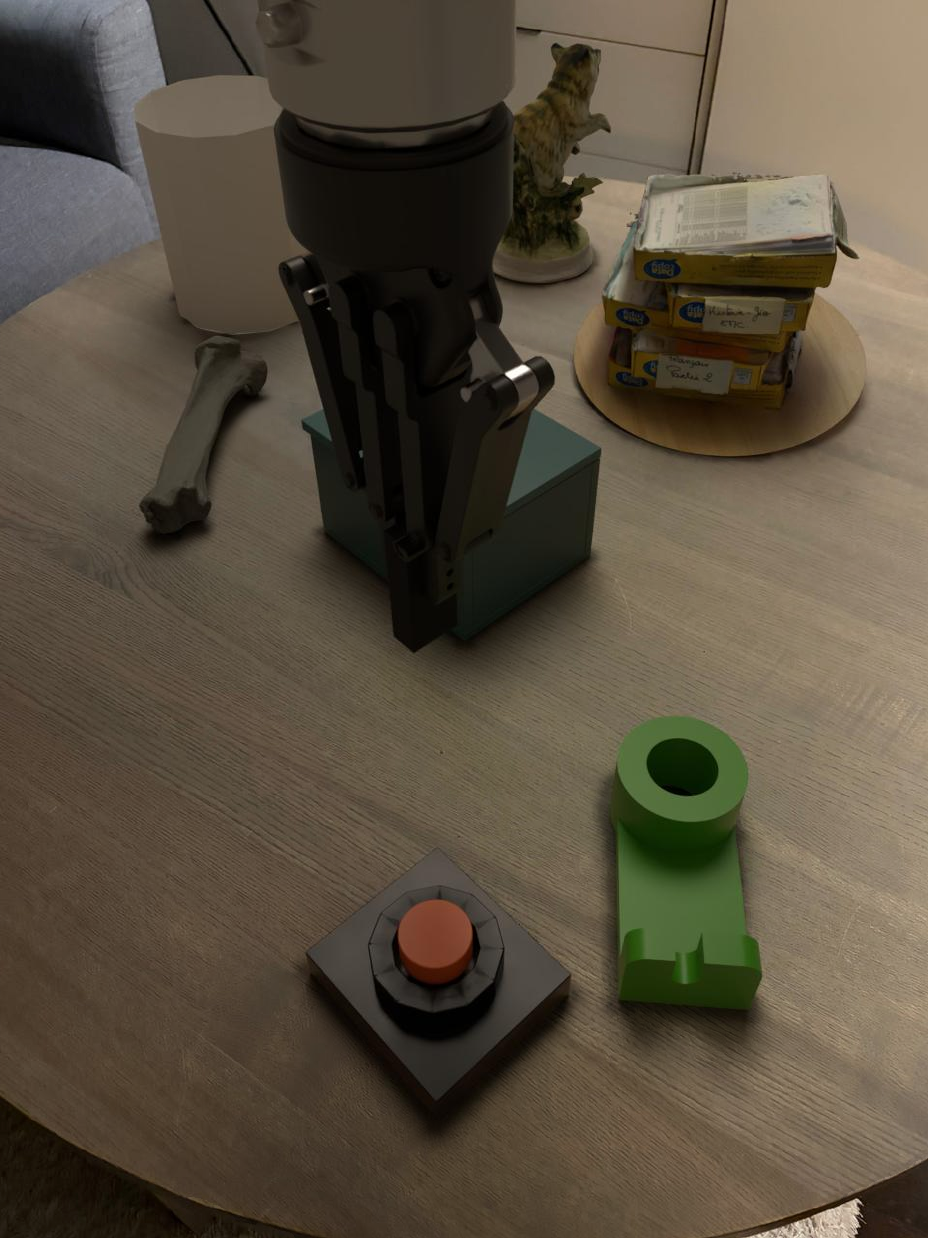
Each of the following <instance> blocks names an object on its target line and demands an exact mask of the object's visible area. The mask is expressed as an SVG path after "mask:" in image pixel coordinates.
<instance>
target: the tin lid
mask: <svg viewBox="0 0 928 1238" xmlns="http://www.w3.org/2000/svg"><path fill="white" fill-rule="evenodd" d="M301 427H302V430H303V431H304V432H306V433H307V434H308V435H311V436H313V437H314V438H316V439H317V440H318V441H320V442H321V443H323V444H324V445H325V446H327V447H328V448H330V449H331V450H332V451H334V452H335V450H334V447H333V443H332V439H331V436H330V432H329V428H328V425H327V421H326V417H325V413H324V410H323V408H322V409H321V410H319V411H316V412H315V413H312V414H311V415H309V416H306V417H305V418H302V419H301ZM311 436H310V437H311ZM359 454H360V458H361V457H363V451H362V450H361V451H359ZM601 457H602V447H601V446H599V445H597V444H596V443H595V442H592V441H591V440H589V439H587V438H585V437H584V436H582V435H580V434H578V433H577V432H575V431H573V430H571V429H570V428H569V427H566V426H565V425H563V424H562V423H560V422H558V421H556V420H555V419H553V418H551V417H549V416H548V415H545V414H544V413H543V412H541V411H540V410H537V409H536V408H534V409H533V410H532V413H531V417H530V420H529V424H528V428H527V432H526V435H525V439H524V443H523V446H522V450H521V454H520V458H519V461H518V465H517V469H516V472H515V476H514V480H513V484H512V487H511V491H510V495H509V498H508V502H507V506H506V510H505V513H504V517H506V516H507V515H509V514H511V513H512V512H514V511H515V510H517V509H519V508H520V507H522V506H523V505H525V504H527V503H528V502H530V501H531V500H533V499H535V498H536V497H538V496H539V495H541V494H543V493H544V492H546V491H547V490H549V489H551V488H552V487H554V486H555V485H557V484H559V483H560V482H562V481H563V480H565V479H567V478H568V477H570V476H572V475H573V474H575V473H576V472H578V471H580V470H581V469H583V468H584V467H586V466H588V465H589V464H591V463H592V462H594V461H596V460H597V459H599V458H600V459H601ZM504 517H503V518H504Z"/></svg>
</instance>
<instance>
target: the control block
mask: <svg viewBox="0 0 928 1238" xmlns="http://www.w3.org/2000/svg"><path fill="white" fill-rule="evenodd" d="M434 899H438V900H445V901H449V902H451V903H453V904H455V905H457V906H458V907H460V908H461V909H462V910H463V911H464V912H465V913H466V915H467V916H468V918H469V920H470V922H471V925H472V930H473V954H472V959H471V961H470V964H469V966H468V967H467V969H466V970H465V971H464V972H463V973H462V974H461V975H460V976H459V977H458V978H456V979H454V980H453V981H450V982H448V983H444V984H436V985H433V984H427V983H423V982H420V981H418V980H416V979H415V978H413V977H412V976H411V975H410V974H409V973H408V972H407V971H406V970H405V968H404V966H403V964H402V962H401V959H400V953H399V944H398V928H399V924H400V922H401V920H402V918H403V916H404V915H405V914H406V913H407V911H409V910H410V909H411V908H412V907H413V906H415V905H417V904H418V903H421V902H423V901H427V900H434ZM305 957H306V960H307V964H308V965H307V966H308V968H309V972H310V973H311V974H312V976H313V977H314V978H315V979H316V981H318V982H319V984H320V985H321V986H322V987H323V989H324V990H325V991H326V992H327V993H328V995H330V997H331V998H332V999H333V1000H334V1002H335V1003H336V1004H337V1005H338V1006H339V1007H340V1008H341V1010H343V1012H344V1013H345V1014H346V1015H347V1017H348V1018H349V1019H350V1020H351V1021H352V1023H354V1025H355V1026H356V1027H357V1028H358V1029H359V1030H360V1032H362V1034H363V1035H364V1036H365V1037H366V1038H367V1040H368V1041H369V1042H370V1043H371V1044H372V1046H373V1047H374V1048H375V1049H376V1050H377V1051H378V1052H379V1054H380V1055H381V1056H382V1057H383V1058H384V1059H385V1061H387V1063H388V1064H389V1065H390V1066H391V1068H393V1070H394V1071H395V1072H396V1073H397V1074H398V1076H399V1077H400V1078H401V1079H402V1080H403V1081H404V1083H405V1084H406V1085H407V1086H408V1087H409V1088H410V1090H411V1091H412V1092H413V1093H414V1094H415V1095H416V1096H417V1098H418V1099H419V1100H420V1101H421V1103H423V1105H424V1106H425V1107H426V1108H427V1110H429V1112H430V1113H431V1114H432V1115H433V1116H434V1118H436V1119H437V1120H439V1119H440V1118H441V1117H442V1116H443V1115H444V1114H445V1113H446V1112H447V1111H449V1109H450V1108H451V1107H453V1106H454V1105H455V1104H456V1103H457V1102H458V1101H459V1100H460V1099H461V1098H462V1097H463V1096H464V1095H465V1094H466V1093H467V1092H468V1091H469V1090H470V1089H471V1088H472V1087H474V1086H475V1085H476V1083H478V1081H480V1080H481V1079H482V1078H483V1077H484V1076H485V1075H486V1074H487V1073H488V1072H489V1071H491V1069H492V1068H493V1067H495V1065H497V1064H498V1063H499V1062H500V1061H501V1060H502V1059H503V1058H504V1057H505V1056H506V1055H507V1054H509V1052H510V1051H511V1050H512V1049H513V1048H514V1047H515V1046H516V1045H517V1044H519V1042H521V1041H522V1040H523V1039H524V1037H526V1036H527V1035H528V1034H530V1032H531V1031H532V1030H533V1029H534V1028H535V1027H536V1026H537V1025H538V1024H539V1023H540V1022H541V1021H542V1020H543V1019H544V1018H545V1017H547V1016H548V1015H549V1014H550V1013H551V1012H552V1011H553V1010H554V1009H555V1008H556V1007H557V1006H558V1005H559V1004H561V1002H563V1000H564V999H565V998H566V997H567V996H568V995H569V994H570V988H571V981H572V973H571V972H569V970H568V969H566V968H565V967H564V966H563V965H562V964H561V963H560V962H559V961H558V960H557V959H556V958H555V957H554V956H553V955H551V954H550V952H549V951H548V950H547V949H545V948H544V946H543V945H541V944H540V943H539V942H538V941H537V940H536V939H535V938H534V937H533V936H532V935H531V934H530V933H529V932H528V931H527V930H526V929H525V928H524V927H522V925H520V924H519V922H518V921H516V919H514V918H513V916H511V915H510V913H508V912H507V911H506V910H505V909H504V908H502V907H501V906H500V904H498V902H496V901H495V900H494V899H493V898H492V896H490V895H489V893H487V891H485V890H484V889H483V888H482V887H481V886H480V885H478V884H477V883H476V881H474V880H473V879H472V877H470V876H469V874H467V873H466V872H465V871H464V870H463V869H462V868H461V867H460V866H459V865H458V864H457V863H455V862H454V860H453V859H451V858H450V857H449V856H448V855H447V853H446V852H444V851H443V850H442V849H441V848H440V847H439V846H437V847H436V848H434V849H433V850H432V851H431V852H429V853H428V854H426V856H424V857H423V858H422V859H420V860H419V861H418V862H417V863H415V864H414V865H413V866H412V867H410V868H409V869H408V870H406V871H405V872H404V873H403V874H401V875H400V876H399V877H397V878H396V880H394V881H392V882H391V883H390V884H389V885H388V886H387V887H386V888H384V889H383V890H382V891H380V892H379V893H377V895H375V896H374V897H373V898H372V899H370V900H369V901H367V903H365V904H364V905H363V906H361V907H360V908H358V910H356V911H355V912H354V913H352V914H351V915H350V916H349V917H348V918H346V919H345V920H344V921H343V922H341V923H340V924H339V925H337V926H336V927H335V928H333V930H331V931H330V932H328V933H327V934H326V935H325V936H324V937H322V938H321V939H320V940H319V941H318V942H316V943H315V944H314V945H312V946H311V947H310V948H308V949H307V950H306V951H305Z"/></svg>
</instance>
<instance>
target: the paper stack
mask: <svg viewBox="0 0 928 1238" xmlns="http://www.w3.org/2000/svg"><path fill="white" fill-rule="evenodd" d="M657 173H661V174H657ZM657 173H656V174H652V175H650V176H647V177H646V181H645V187H644V191H643V194H642V198H641V199H642V200H641V203H640V207H639V211H638V213H634V214H632V212H629V215H634V220H633V221H630V223H629V222H627V223H626V227H627V228H630V229H629V230H628V232H627V236H626V238H625V240H624V242H623V243H622V245H621V247H620V248H619V250H618V253H617V254H616V256H615V259H614V260H613V263H612V265H611V266H610V270H609V273H608V275H607V279H606V281H605V283H604V287H603V290H602V292H601V301H600V302H599V303H598V304H597V305H596V306H595V307H594V308H592V310H591V311H590V312H589V314H588V315H587V316H586V317H585V319H584V320H583V322H582V324H581V326H580V328H579V331H578V333H577V335H576V339H575V343H574V348H573V363H574V370H575V373H576V377H577V380H578V381H579V384H580V386H581V388H582V390H583V391H584V393H585V395H586V396H587V397H588V399H589V400H590V402H591V403H592V404H593V405H594V406H595V407H596V409H597V410H599V411H600V412H601V413H602V414H603V415H604V416H606V418H608V419H609V420H610V421H611V422H613V423H614V424H616V425H617V426H619V427H620V428H622V429H624V430H625V431H627V432H629V433H631V434H633V435H634V436H637V437H639V438H641V439H643V440H645V441H647V442H650V443H653V444H655V445H658V446H661V447H665V448H668V449H672V450H676V451H679V452H685V453H688V454H689V453H690V454H695V455H696V454H697V455H704V456H717V457H742V456H743V457H747V456H755V455H763V454H764V455H765V454H768V453H769V454H770V453H775V452H779V451H783V450H786V449H790V448H792V447H795V446H799V445H801V444H804V443H806V442H808V441H810V440H812V439H815V438H817V437H818V436H820V435H822V434H824V433H826V432H827V431H829V430H831V428H832V429H833V427H834V426H836V425H838V423H839V422H841V421H842V420H843V419H844V418H845V417H846V416H847V415H848V414H849V413H850V411H851V410H852V409H853V408H854V406H855V405H856V403H857V402H858V400H859V398H860V397H861V395H862V392H863V389H864V386H865V384H866V379H867V378H866V377H867V358H866V352H865V349H864V346H863V343H862V340H861V338H860V337H859V334H858V332H857V331H856V330H855V328H854V326H853V325H852V323H851V322H850V321H849V320H848V319H847V318H846V317H845V315H844V314H843V313H842V312H841V311H840V310H839V309H837V307H835V305H833V304H831V303H830V302H829V301H828V300H826V299H825V298H824V297H823V296H821V295H819V294H818V293H816V289H817V288H821V289H827V288H829V287H830V285H831V283H832V279H833V275H834V271H835V268H836V264H837V261H838V249H839V250H840V252H841V253H842V254H843V255H845V256H846V257H848V258H850V259H853V260H859V259H860V256H859V254H858V253H857V252H856V251H855V250H854V249H853V248H852V247H851V246H850V245H849V240H848V223H847V220H846V217H845V215H844V212H843V208H842V205H841V202H840V199H839V197H838V194H837V193H836V190H835V185H834V182H833V181H832V180H830V178H829V176H828V175H827V174H822V173H818V174H812V175H801V176H799V175H798V176H783V177H782V176H781V175H778V174H776V175H774V174H773V175H772V177H773V178H771V175H770V174H766V175H764V177H765V178H768V179H767V180H766V179H765V180H760V179H764V177H763V176H762V175H761V174H755V175H754V176H752V175H751V174H747V175H745V176H743V175H741V172H738V173H737V172H735V171H733V172H732V175H724V176H723V175H719V176H717V175H715V174H711V175H705V174H691V175H690V174H688V175H687V174H682V175H675V174H670V173H667V174H664V171H661V172H660V171H659V170H658V171H657ZM736 174H737V175H736ZM735 175H736V178H735ZM714 177H715V178H714ZM769 178H770V179H769ZM755 179H756V180H755ZM758 179H759V180H758ZM750 180H751V181H750Z"/></svg>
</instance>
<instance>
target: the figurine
mask: <svg viewBox="0 0 928 1238" xmlns="http://www.w3.org/2000/svg"><path fill="white" fill-rule="evenodd" d="M550 52H551V56H552V59H553V61H554V62H555V67H554V69H553V71H552V76H551V79H550V80H549V81H548V82H547V85H546V87H545V88H544V89H542V90H541V91H540V93H539V94H538V95H537V96H536V98H535V99H534V100H533V101H531V102H529V103H527V104H526V105H524V106H522V107H521V108H520V109H519V110H518V111H516V112H515V113H514V114H513V117H514V165H513V211H512V216H511V219H510V222H509V224H508V226H507V228H506V230H505V232H504V234H503V236H502V238H501V240H500V242H499V244H498V247H497V249H496V252H495V254H494V258H493V272H494V274H496V275H498V276H500V277H502V278H505V279H508V280H512V281H515V282H521V283H527V284H549V283H554V282H555V283H556V282H560V281H565V280H569V279H572V278H575V277H578V276H580V275H582V274H583V273H584V272H586V271H587V270H588V269H589V268H590V267H591V266H592V264H593V261H594V252H593V250H592V248H591V246H590V241H591V240H590V239H591V238H590V235H589V232H588V231H587V229H586V228H585V227H584V226H582V224H580V222H578V221H577V219H579V218H580V217H581V215H582V213H583V211H584V209H583V207H584V206H583V201H582V199H584V198H585V197H588V196H590V195H593V194H595V193H596V191H595V189H594V188H595V187H598V186H600V185H601V184H603V183H604V181H603V180H601V179H599V178H598V177H594V176H590V177H589V176H586V174H585V172H582V173H580V174H579V176H578V177H574V178H573V180H572V181H571V183H570V184H569V183H567V182H566V181H563V180H564V177H565V168H564V166H565V164H566V162H567V161H568V159H569V158H570V156H571V154H572V155H574V156H576V155H578V154H579V153H581V147H580V145H579V142H581V141H582V140H584V139H585V138H586V137H589V136H590V135H592V134H594V133H597V132H598V131H600V130H602V131H604V132H606V133H608V134H612V126H611V124H610V122H609V120H608V118H607V116H606V114H603V113H601V112H596V113H593V114H591V111H590V107H591V106H590V105H591V98H592V96H593V94H594V91H595V88H596V84H597V82H598V78H599V74H600V67H599V66H600V64H601V62H602V49H599V48H593V47H592V46H591V45H589V44H583V43H574V44H571V45H570V46H567V47H564V46H563V45H561V44H559V43H558V42H554V43H552V44H551V46H550Z"/></svg>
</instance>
